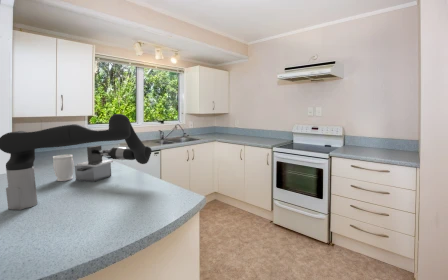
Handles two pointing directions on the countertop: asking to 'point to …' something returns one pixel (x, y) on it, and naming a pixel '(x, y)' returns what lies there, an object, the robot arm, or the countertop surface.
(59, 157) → the jar
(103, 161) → the lid
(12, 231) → the countertop surface
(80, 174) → the grey rectangular container
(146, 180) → the countertop surface
